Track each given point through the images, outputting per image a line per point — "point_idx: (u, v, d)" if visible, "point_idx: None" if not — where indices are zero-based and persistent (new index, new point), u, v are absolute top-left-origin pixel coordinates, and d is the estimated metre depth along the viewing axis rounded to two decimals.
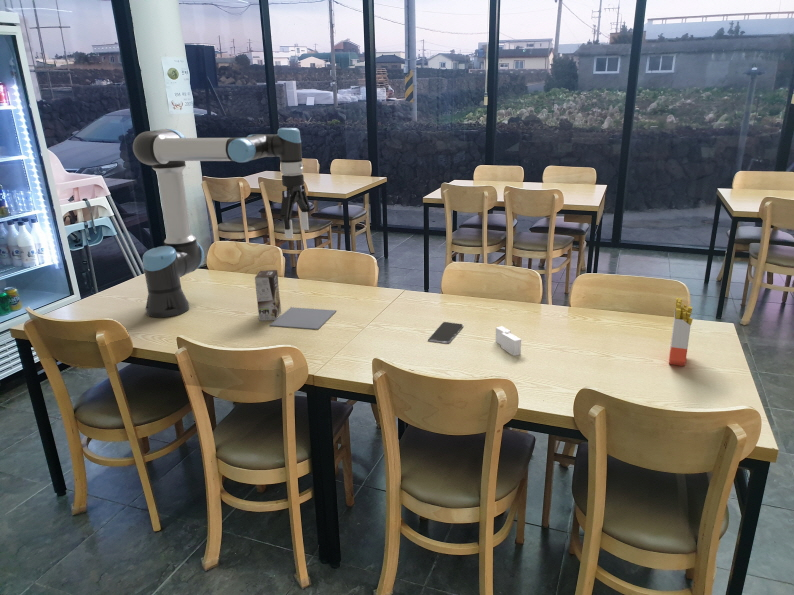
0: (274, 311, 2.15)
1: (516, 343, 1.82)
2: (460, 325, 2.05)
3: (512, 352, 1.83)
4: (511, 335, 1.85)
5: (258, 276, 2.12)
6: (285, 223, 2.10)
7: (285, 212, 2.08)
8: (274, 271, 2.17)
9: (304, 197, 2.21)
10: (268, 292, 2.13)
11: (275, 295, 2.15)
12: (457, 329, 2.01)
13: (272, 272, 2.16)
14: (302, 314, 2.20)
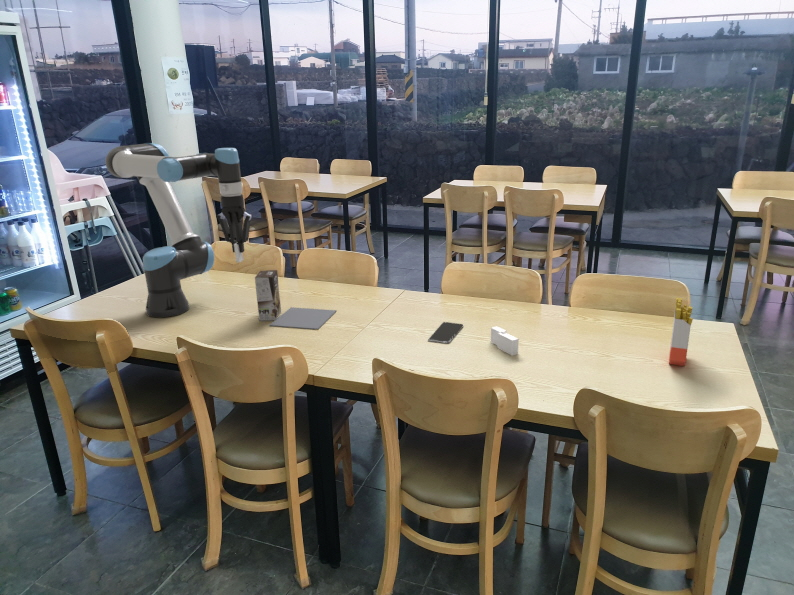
0: (274, 311, 2.15)
1: (514, 343, 1.82)
2: (460, 325, 2.05)
3: (510, 352, 1.83)
4: (508, 335, 1.85)
5: (258, 276, 2.12)
6: None
7: None
8: (274, 271, 2.17)
9: None
10: (268, 292, 2.13)
11: (275, 295, 2.15)
12: (457, 329, 2.01)
13: (272, 272, 2.16)
14: (302, 314, 2.20)
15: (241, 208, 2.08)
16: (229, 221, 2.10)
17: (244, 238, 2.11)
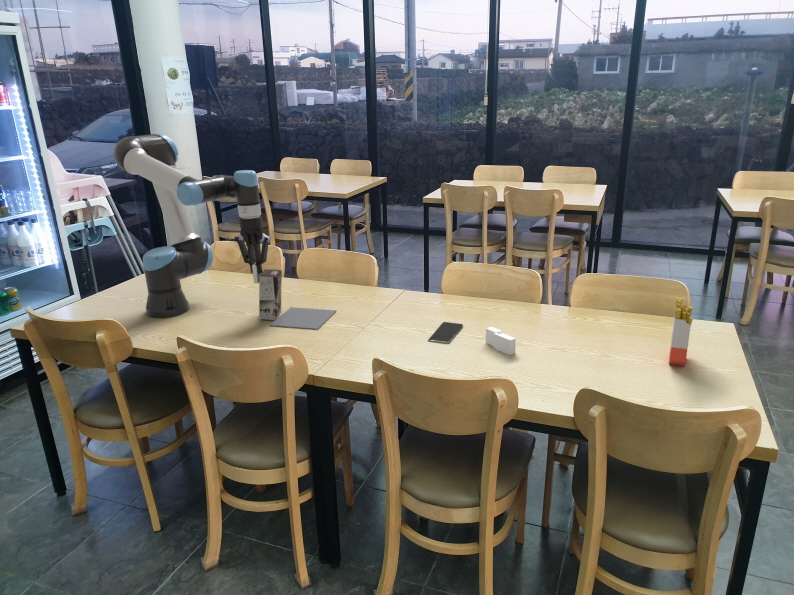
0: (275, 311, 2.15)
1: (512, 343, 1.82)
2: (460, 325, 2.05)
3: (507, 352, 1.83)
4: (504, 335, 1.85)
5: (263, 275, 2.12)
6: None
7: None
8: (279, 271, 2.17)
9: None
10: (271, 292, 2.13)
11: (278, 295, 2.15)
12: (457, 329, 2.01)
13: (277, 272, 2.16)
14: (302, 314, 2.20)
15: (260, 230, 2.09)
16: (247, 243, 2.11)
17: (262, 259, 2.12)
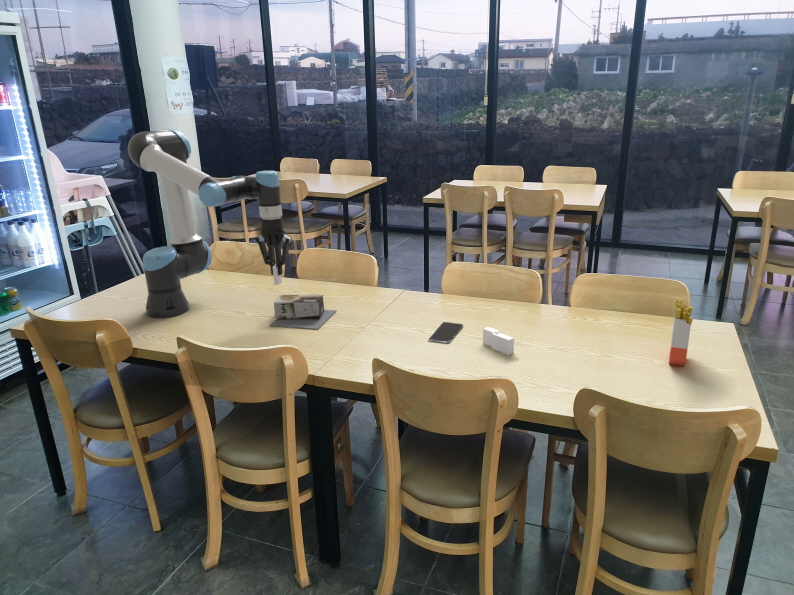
0: (284, 318, 2.15)
1: (510, 342, 1.82)
2: (460, 325, 2.05)
3: (506, 352, 1.83)
4: (502, 335, 1.85)
5: (319, 304, 2.14)
6: None
7: None
8: (323, 310, 2.21)
9: None
10: (303, 314, 2.14)
11: None
12: (457, 329, 2.01)
13: (322, 310, 2.19)
14: None
15: (281, 231, 2.07)
16: (268, 244, 2.09)
17: (283, 261, 2.10)
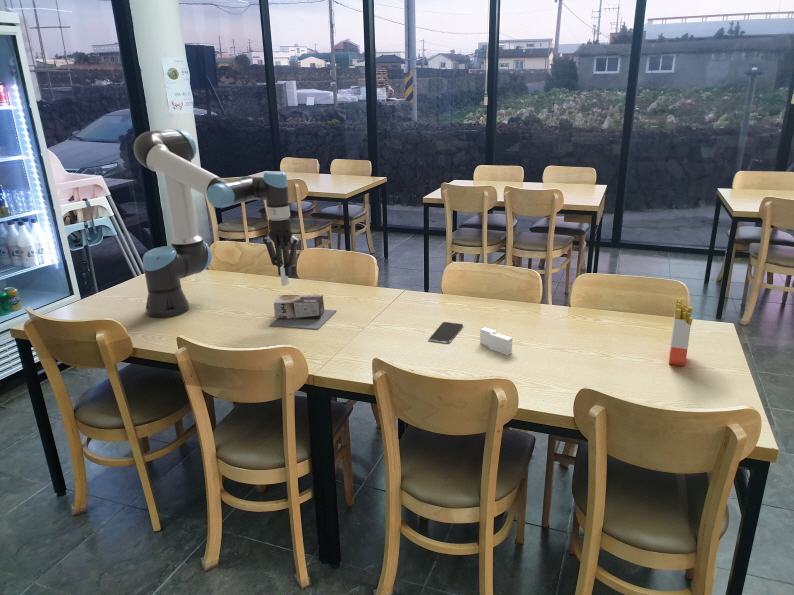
0: (284, 318, 2.15)
1: (509, 342, 1.82)
2: (460, 325, 2.05)
3: (504, 352, 1.83)
4: (500, 335, 1.85)
5: (319, 304, 2.14)
6: None
7: None
8: (323, 310, 2.21)
9: None
10: (303, 314, 2.14)
11: None
12: (457, 329, 2.01)
13: (322, 310, 2.19)
14: None
15: (289, 232, 2.07)
16: (276, 245, 2.08)
17: (291, 262, 2.10)
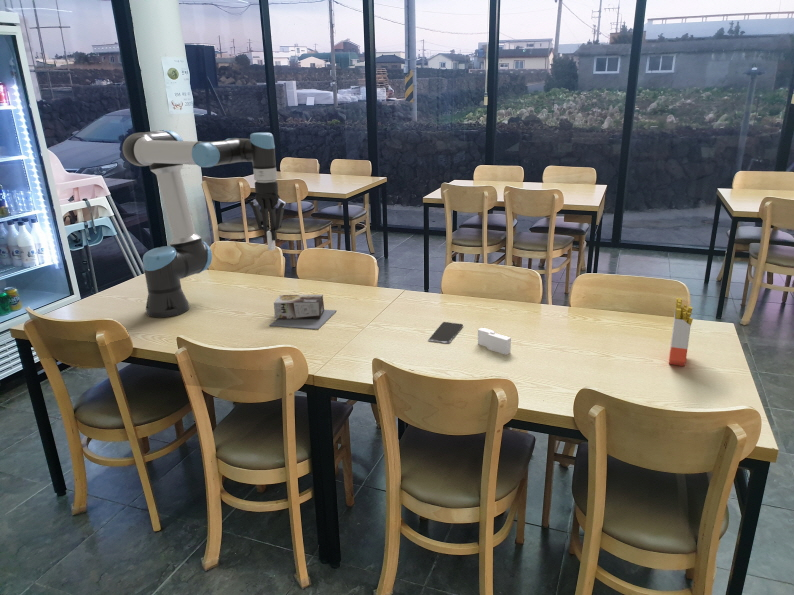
0: (284, 318, 2.15)
1: (507, 342, 1.82)
2: (460, 325, 2.05)
3: (503, 352, 1.83)
4: (499, 335, 1.85)
5: (319, 304, 2.14)
6: None
7: None
8: (323, 310, 2.21)
9: None
10: (303, 314, 2.14)
11: None
12: (457, 329, 2.02)
13: (322, 310, 2.19)
14: None
15: (275, 195, 2.03)
16: (263, 208, 2.05)
17: (277, 226, 2.07)
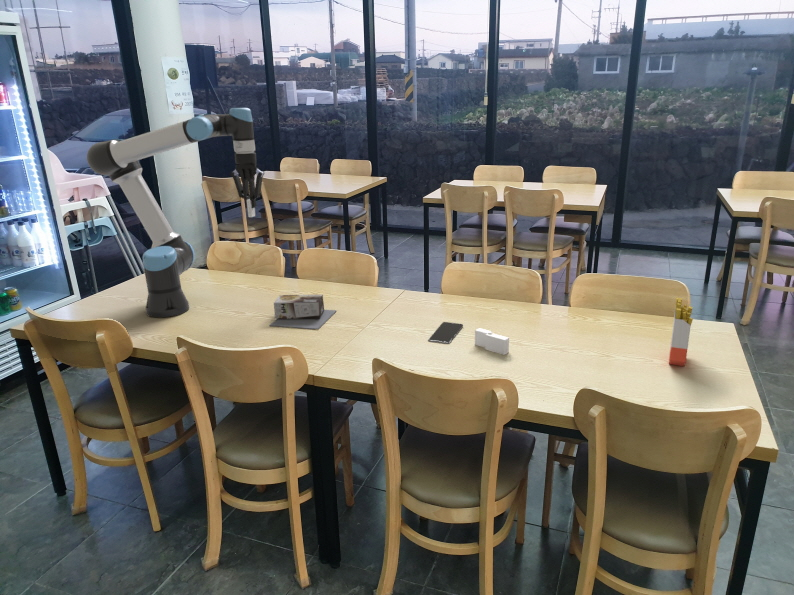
0: (284, 318, 2.15)
1: (506, 342, 1.83)
2: (460, 325, 2.05)
3: (502, 352, 1.83)
4: (496, 335, 1.85)
5: (319, 304, 2.14)
6: None
7: None
8: (323, 310, 2.21)
9: None
10: (303, 314, 2.14)
11: None
12: (457, 329, 2.02)
13: (322, 310, 2.19)
14: None
15: (254, 165, 2.21)
16: (242, 177, 2.23)
17: (256, 194, 2.24)
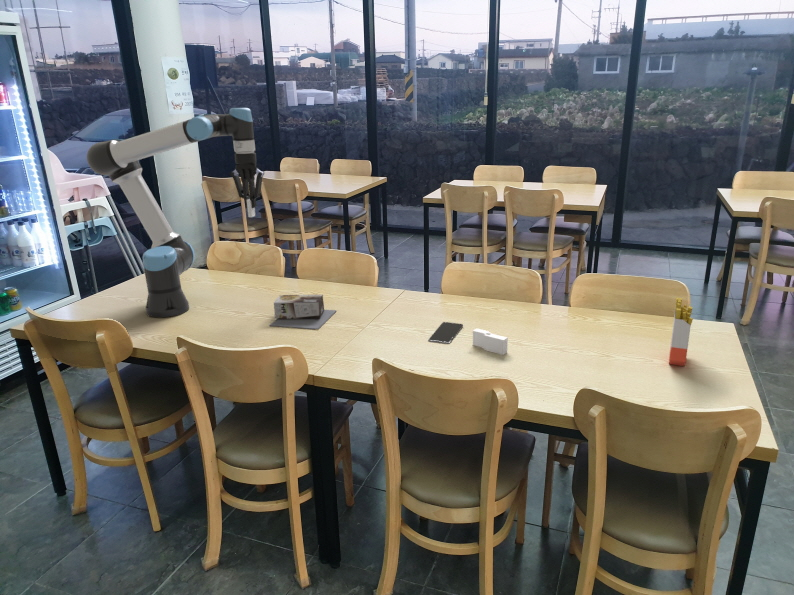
0: (284, 318, 2.15)
1: (505, 342, 1.83)
2: (460, 325, 2.05)
3: (500, 352, 1.83)
4: (495, 335, 1.85)
5: (319, 304, 2.14)
6: None
7: None
8: (323, 310, 2.21)
9: None
10: (303, 314, 2.14)
11: None
12: (457, 329, 2.02)
13: (322, 310, 2.19)
14: None
15: (254, 165, 2.21)
16: (242, 177, 2.23)
17: (256, 194, 2.25)
